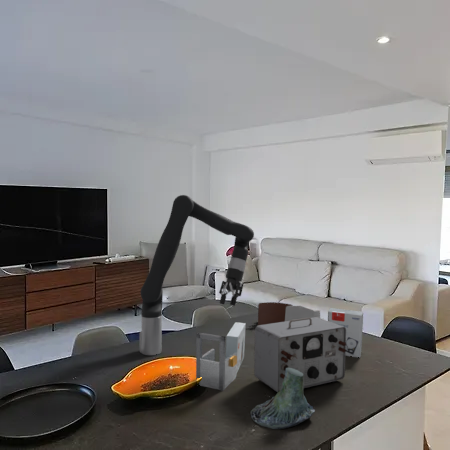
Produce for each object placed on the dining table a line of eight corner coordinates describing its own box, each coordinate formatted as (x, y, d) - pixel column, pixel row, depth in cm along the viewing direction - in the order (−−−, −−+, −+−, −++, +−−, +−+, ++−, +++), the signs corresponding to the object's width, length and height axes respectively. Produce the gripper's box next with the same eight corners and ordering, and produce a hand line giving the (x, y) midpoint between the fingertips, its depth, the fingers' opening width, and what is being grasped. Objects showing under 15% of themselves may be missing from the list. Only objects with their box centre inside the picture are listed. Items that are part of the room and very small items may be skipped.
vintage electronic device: (280, 400, 152) (282, 331, 151) (254, 381, 168) (255, 318, 167) (348, 383, 167) (350, 320, 165) (317, 367, 183) (319, 309, 181)
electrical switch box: (321, 346, 216) (324, 306, 218) (311, 350, 204) (314, 307, 205) (294, 340, 224) (297, 302, 226) (282, 344, 212) (286, 303, 213)
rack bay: (196, 384, 164) (196, 333, 163) (211, 372, 176) (212, 324, 175) (224, 391, 159) (225, 338, 158) (238, 377, 171) (239, 328, 170)
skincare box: (237, 375, 174) (237, 336, 173) (224, 374, 175) (224, 335, 174) (245, 357, 194) (245, 322, 193) (233, 356, 195) (234, 321, 194)
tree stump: (248, 403, 151) (261, 353, 151) (303, 418, 150) (316, 368, 150) (250, 427, 132) (265, 372, 132) (313, 445, 132) (328, 389, 132)
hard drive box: (326, 353, 200) (327, 311, 199) (328, 348, 207) (329, 307, 206) (360, 358, 194) (362, 314, 193) (362, 352, 201) (363, 310, 200)
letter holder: (293, 328, 239) (293, 303, 238) (257, 326, 242) (258, 301, 241) (293, 323, 249) (294, 299, 248) (259, 321, 252) (259, 297, 251)
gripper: (220, 267, 198) (211, 301, 193) (238, 266, 186) (229, 303, 181) (233, 271, 201) (225, 305, 197) (251, 272, 189) (242, 308, 185)
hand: (226, 304), depth 189 cm, fingers open, 8 cm apart
